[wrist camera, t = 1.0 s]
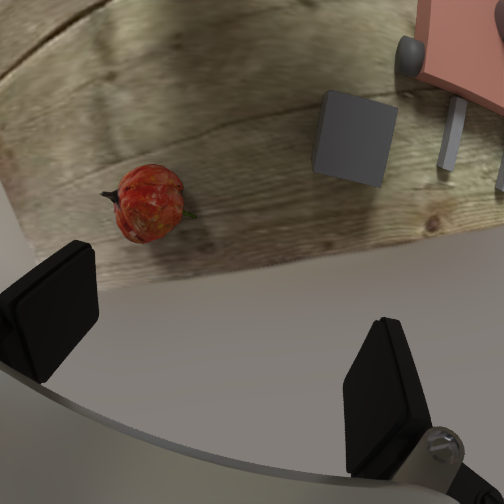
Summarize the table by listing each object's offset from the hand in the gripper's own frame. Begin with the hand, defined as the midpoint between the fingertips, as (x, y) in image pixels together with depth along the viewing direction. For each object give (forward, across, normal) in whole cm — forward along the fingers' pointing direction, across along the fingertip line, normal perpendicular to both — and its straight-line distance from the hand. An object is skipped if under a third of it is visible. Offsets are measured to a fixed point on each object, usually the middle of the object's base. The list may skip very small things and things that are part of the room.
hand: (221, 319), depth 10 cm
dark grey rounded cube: (+22, -5, -6) cm, 23 cm away
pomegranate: (+22, +11, +4) cm, 25 cm away
